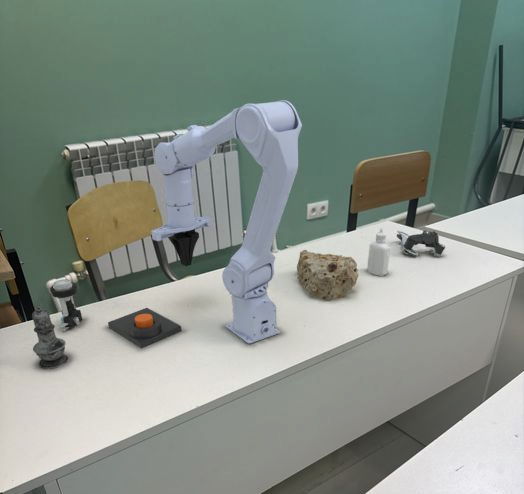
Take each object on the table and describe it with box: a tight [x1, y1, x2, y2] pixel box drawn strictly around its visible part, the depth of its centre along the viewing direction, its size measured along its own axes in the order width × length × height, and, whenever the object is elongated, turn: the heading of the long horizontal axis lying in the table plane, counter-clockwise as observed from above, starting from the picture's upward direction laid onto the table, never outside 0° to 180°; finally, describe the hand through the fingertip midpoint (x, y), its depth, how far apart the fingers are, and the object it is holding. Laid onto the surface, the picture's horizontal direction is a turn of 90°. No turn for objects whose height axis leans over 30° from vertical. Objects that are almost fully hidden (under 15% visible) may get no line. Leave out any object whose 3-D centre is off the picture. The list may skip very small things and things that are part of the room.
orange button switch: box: [107, 307, 182, 349], centre depth 103 cm, size 13×10×3 cm
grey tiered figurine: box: [31, 305, 69, 370], centre depth 90 cm, size 6×6×12 cm
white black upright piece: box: [49, 278, 83, 332], centre depth 103 cm, size 7×5×10 cm
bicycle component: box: [396, 230, 446, 257], centre depth 142 cm, size 12×7×15 cm
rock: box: [296, 249, 359, 301], centre depth 121 cm, size 21×14×10 cm
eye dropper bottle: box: [366, 228, 391, 277], centre depth 126 cm, size 4×6×12 cm
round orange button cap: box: [135, 314, 153, 328], centre depth 99 cm, size 4×4×2 cm
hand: (186, 264), depth 108 cm, fingers closed
